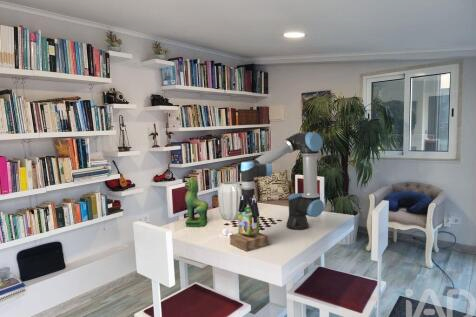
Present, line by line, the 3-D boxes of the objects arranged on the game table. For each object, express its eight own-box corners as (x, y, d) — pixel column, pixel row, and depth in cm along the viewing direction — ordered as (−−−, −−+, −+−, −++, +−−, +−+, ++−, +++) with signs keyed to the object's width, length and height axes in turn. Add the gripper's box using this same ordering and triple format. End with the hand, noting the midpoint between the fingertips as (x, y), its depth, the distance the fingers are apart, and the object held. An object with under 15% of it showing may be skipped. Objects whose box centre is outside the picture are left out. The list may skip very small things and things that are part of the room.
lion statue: (187, 222, 248) (186, 175, 246) (209, 222, 247) (208, 175, 244) (183, 227, 235) (181, 178, 232) (206, 227, 234) (205, 177, 231)
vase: (234, 222, 244) (234, 185, 242) (213, 219, 254) (212, 184, 252) (248, 216, 260) (247, 182, 258) (227, 214, 270) (226, 180, 268)
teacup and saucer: (234, 235, 215) (234, 229, 214) (226, 238, 209) (225, 232, 208) (224, 233, 220) (224, 227, 220) (216, 236, 215) (216, 230, 214)
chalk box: (249, 236, 189) (249, 210, 187) (237, 232, 195) (237, 207, 194) (260, 232, 195) (259, 207, 194) (248, 229, 202) (247, 205, 200)
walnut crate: (251, 239, 207) (251, 229, 207) (269, 246, 194) (268, 236, 193) (229, 244, 198) (229, 234, 197) (246, 252, 184) (246, 241, 184)
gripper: (231, 186, 200) (232, 223, 202) (254, 191, 182) (255, 231, 184) (241, 185, 204) (242, 221, 206) (265, 190, 186) (266, 229, 188)
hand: (248, 226), depth 195 cm, fingers closed on chalk box, 10 cm apart
